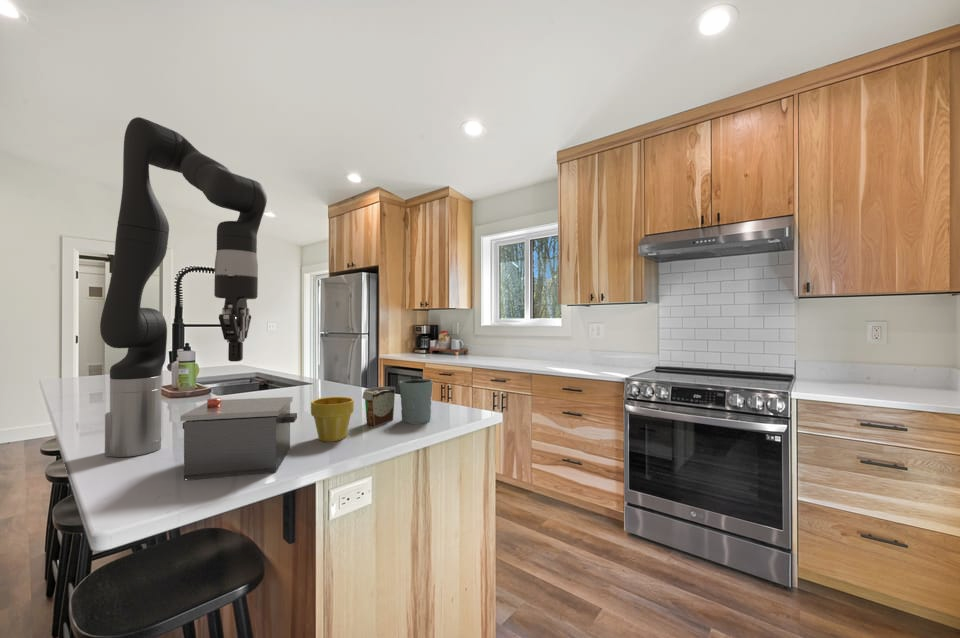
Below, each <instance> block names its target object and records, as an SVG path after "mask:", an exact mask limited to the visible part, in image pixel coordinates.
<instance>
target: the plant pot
mask: <svg viewBox="0 0 960 638" xmlns="http://www.w3.org/2000/svg"><path fill="white" fill-rule="evenodd" d="M354 404H355V403H354V398H352V397H349V396H348V397H347V396H346V397H345V396H327V397H320V398H317V399H313V400H311V402H310V415H311V416H312V417H313V419H314V423H315V428H316V432H317V437H318V440H319V441H320V442H329V443H330V442H337V441H341V440H343V439H345V438H346V437H347V434H348V433H347V432H348V429H349V424H350V419H351V415H352V414H353V413H354V410H355V409H354V408H355V405H354Z"/></svg>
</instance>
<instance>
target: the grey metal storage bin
mask: <svg viewBox="0 0 960 638" xmlns="http://www.w3.org/2000/svg"><path fill="white" fill-rule="evenodd" d="M297 419H298V413H297V412H291V403H290V404H289V405H288V406H287V407H286V409H285V410H284V411H283V412H282V413H281V414H280V415H279V416H265V417H246V418H228V419H209V420H191V421H183V422H182V430H183V481H186V480H185V479H193V480H201V479H203V478H205V479H214V478H213V477H216V478H224V477H225V478H226V477H237V476H238V477H239V476H247V475H249V476H250V475H260V474H261V475H262V474H270V473H271V474H272V473H277V472H278V470H279V468H280V466H281V465H282V463H283V461H284V460H285V458H286V456H287V455H288V453H289V452H290V449H291V423H296V420H297Z"/></svg>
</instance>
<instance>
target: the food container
mask: <svg viewBox="0 0 960 638" xmlns="http://www.w3.org/2000/svg"><path fill="white" fill-rule="evenodd" d="M395 394H397V390H396V386H376V387H369V388H366V389H364V391H363V393H362V399H363V400H364V405H365V418H366V425H367V426H368V427H370V428H376V427H379V426H382V425H384V424H387V423H389V422H392V420H393V421H394V412H395V397H396V395H395Z"/></svg>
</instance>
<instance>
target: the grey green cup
mask: <svg viewBox="0 0 960 638" xmlns="http://www.w3.org/2000/svg"><path fill="white" fill-rule="evenodd" d="M398 385H399V390H400V391H399V393H400V404H401V405H400V406H401V407H400V408H401V414H400V415H401V422H402V421H403V422H402V423H404V424H409V423H410V424H409V425H413V424H414V425H417V424H418V425H419V424H426V423H429V422H430V421H431V417H432V415H431V413H432V408H431V406H432V396H433V380H432V379H427V378H426V379H425V378H424V379H423V378H413V379H412V378H411V379H409V378H408V379H403V380H400V381H399V384H398Z"/></svg>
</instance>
